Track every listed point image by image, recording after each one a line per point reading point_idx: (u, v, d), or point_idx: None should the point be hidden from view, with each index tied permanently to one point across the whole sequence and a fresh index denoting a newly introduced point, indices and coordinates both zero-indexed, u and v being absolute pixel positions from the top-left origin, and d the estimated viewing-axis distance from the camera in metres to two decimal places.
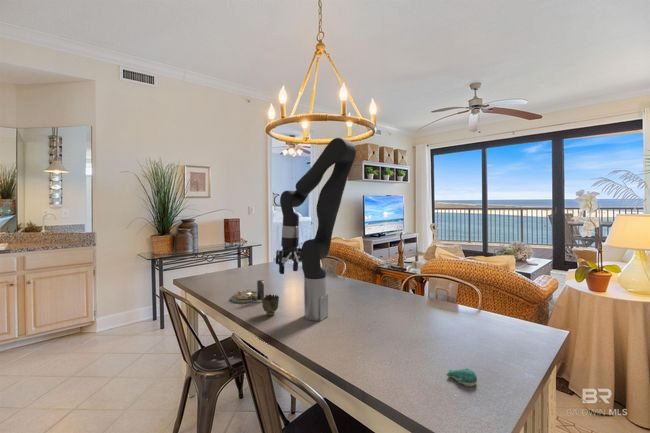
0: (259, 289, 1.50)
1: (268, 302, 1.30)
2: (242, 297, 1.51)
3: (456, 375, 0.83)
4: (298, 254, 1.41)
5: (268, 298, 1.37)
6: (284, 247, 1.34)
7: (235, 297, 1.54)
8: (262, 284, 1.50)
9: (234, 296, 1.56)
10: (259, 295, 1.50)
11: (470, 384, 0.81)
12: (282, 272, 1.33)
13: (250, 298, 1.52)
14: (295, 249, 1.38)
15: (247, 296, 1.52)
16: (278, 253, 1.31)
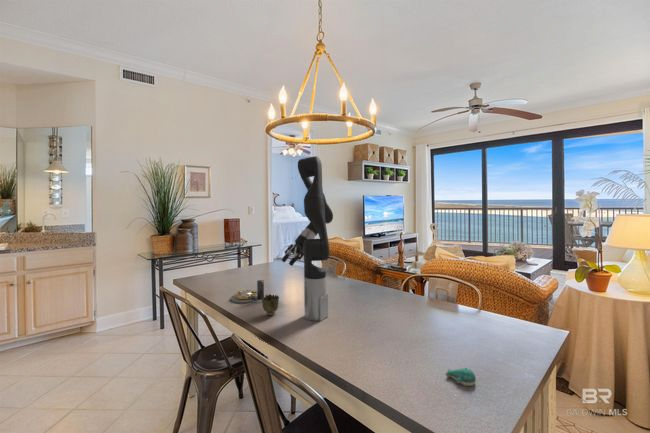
0: (259, 289, 1.50)
1: (268, 302, 1.30)
2: (242, 297, 1.51)
3: (455, 375, 0.84)
4: None
5: (268, 298, 1.37)
6: None
7: (235, 297, 1.54)
8: (262, 284, 1.50)
9: (234, 296, 1.56)
10: (259, 295, 1.50)
11: (469, 384, 0.81)
12: (282, 259, 1.62)
13: (250, 298, 1.52)
14: (299, 247, 1.58)
15: (247, 296, 1.52)
16: None
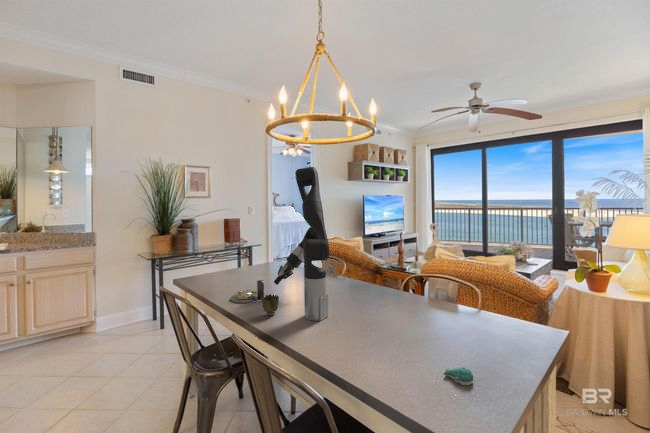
0: (259, 289, 1.50)
1: (268, 302, 1.30)
2: (242, 297, 1.51)
3: (453, 374, 0.84)
4: None
5: (268, 298, 1.37)
6: None
7: (235, 297, 1.54)
8: (262, 284, 1.50)
9: (234, 296, 1.56)
10: (259, 295, 1.50)
11: (467, 383, 0.81)
12: None
13: (250, 298, 1.52)
14: (291, 265, 1.56)
15: (247, 296, 1.52)
16: None
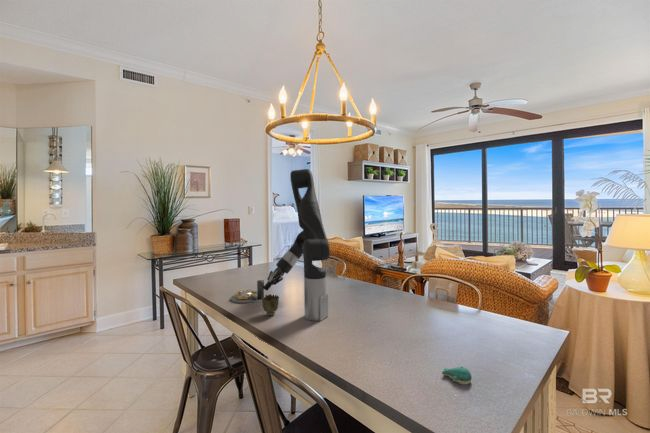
0: (259, 289, 1.50)
1: (268, 302, 1.30)
2: (242, 297, 1.51)
3: (451, 374, 0.84)
4: None
5: (268, 298, 1.37)
6: None
7: (235, 297, 1.54)
8: (262, 284, 1.50)
9: (234, 296, 1.56)
10: (259, 295, 1.50)
11: (465, 382, 0.82)
12: (264, 286, 1.53)
13: (250, 298, 1.52)
14: (280, 271, 1.53)
15: (247, 296, 1.52)
16: None
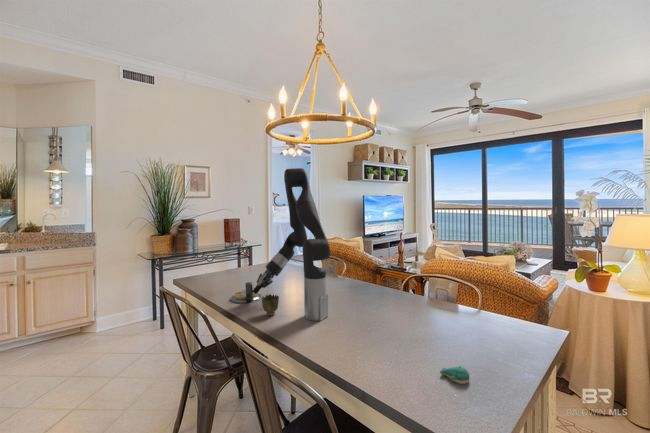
0: (246, 291, 1.46)
1: (268, 302, 1.30)
2: (236, 296, 1.52)
3: (449, 373, 0.84)
4: None
5: (268, 298, 1.37)
6: None
7: None
8: (249, 287, 1.46)
9: None
10: (246, 297, 1.46)
11: (463, 382, 0.82)
12: None
13: (242, 299, 1.51)
14: (270, 273, 1.48)
15: (240, 296, 1.51)
16: None
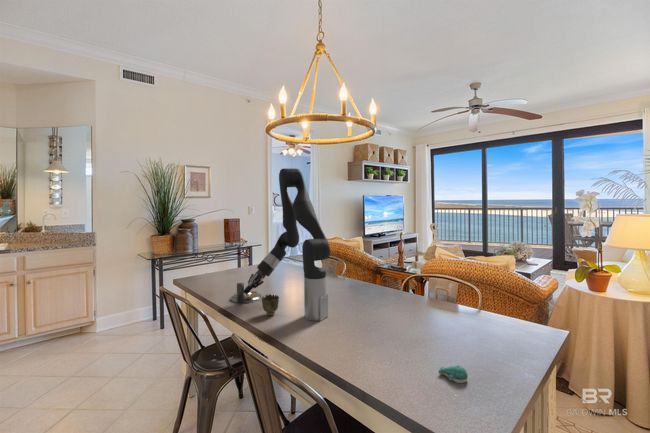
0: (237, 291, 1.46)
1: (268, 302, 1.30)
2: (235, 295, 1.54)
3: (447, 372, 0.85)
4: None
5: (268, 298, 1.37)
6: None
7: None
8: (238, 287, 1.45)
9: None
10: (237, 298, 1.46)
11: (461, 381, 0.82)
12: None
13: None
14: (261, 273, 1.48)
15: None
16: None
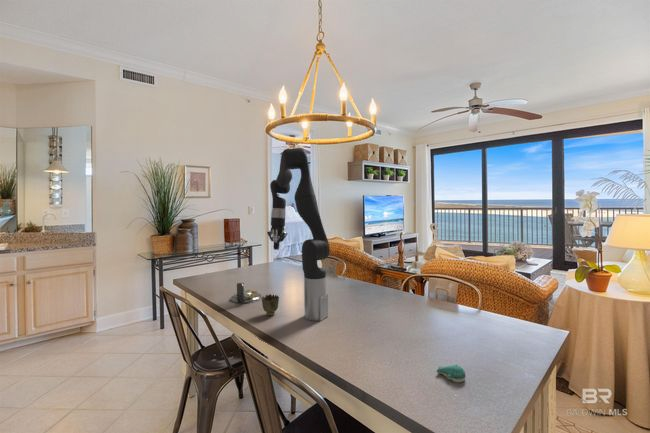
0: (237, 291, 1.46)
1: (268, 302, 1.30)
2: (235, 295, 1.54)
3: (445, 372, 0.85)
4: None
5: (268, 298, 1.37)
6: None
7: None
8: (238, 287, 1.45)
9: None
10: (237, 298, 1.46)
11: (459, 380, 0.83)
12: (274, 248, 1.65)
13: None
14: (280, 228, 1.63)
15: None
16: None
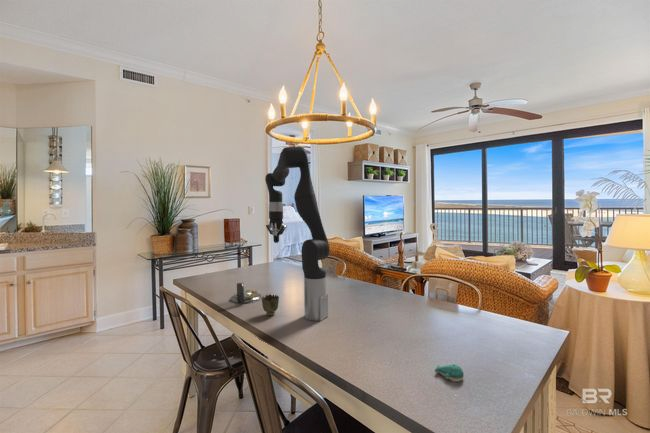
0: (237, 291, 1.46)
1: (268, 302, 1.30)
2: (235, 295, 1.54)
3: (444, 371, 0.85)
4: None
5: (268, 298, 1.37)
6: None
7: None
8: (238, 287, 1.45)
9: None
10: (237, 298, 1.46)
11: (457, 379, 0.83)
12: (274, 241, 1.66)
13: None
14: (279, 221, 1.64)
15: None
16: None
